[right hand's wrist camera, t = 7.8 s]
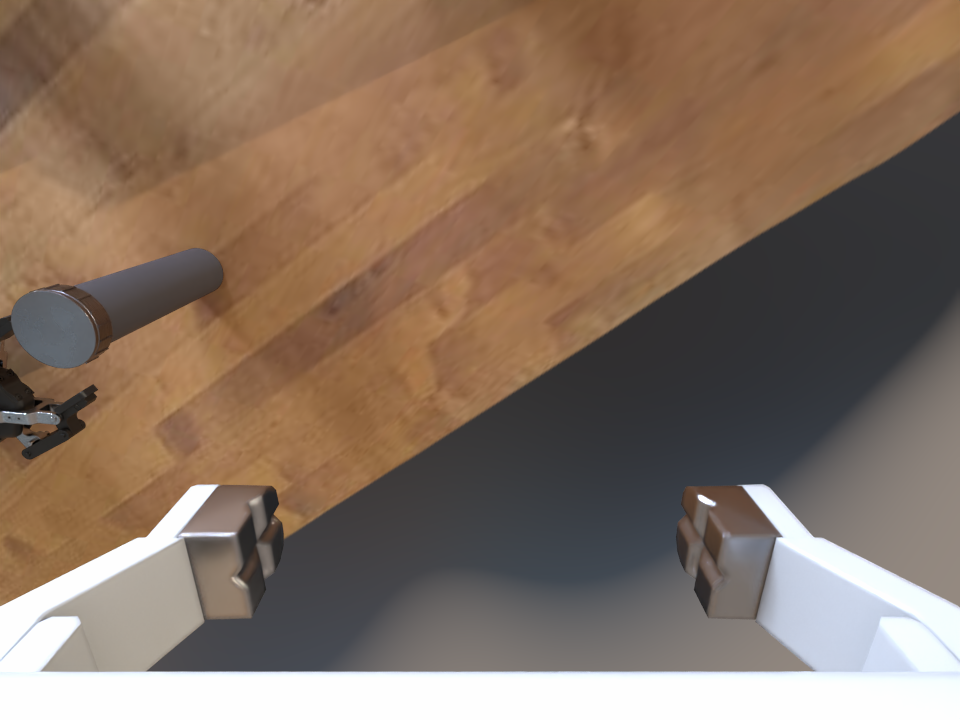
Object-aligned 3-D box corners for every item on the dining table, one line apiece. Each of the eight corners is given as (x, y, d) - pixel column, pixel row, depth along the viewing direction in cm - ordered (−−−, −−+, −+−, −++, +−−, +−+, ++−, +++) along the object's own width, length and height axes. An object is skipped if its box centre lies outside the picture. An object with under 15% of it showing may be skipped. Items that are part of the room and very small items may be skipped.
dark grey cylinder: (186, 239, 53) (32, 282, 35) (230, 263, 54) (102, 317, 36) (171, 278, 55) (15, 339, 36) (213, 301, 55) (82, 372, 37)
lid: (43, 269, 36) (21, 274, 34) (123, 309, 37) (106, 317, 35) (23, 335, 38) (1, 344, 36) (100, 372, 39) (83, 382, 37)
